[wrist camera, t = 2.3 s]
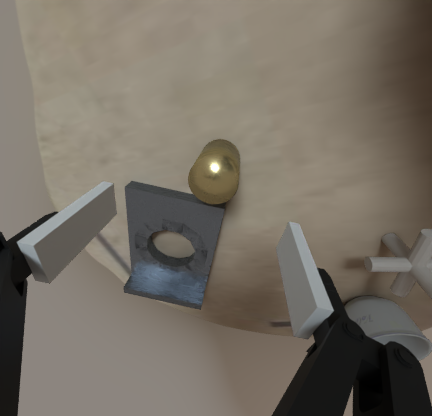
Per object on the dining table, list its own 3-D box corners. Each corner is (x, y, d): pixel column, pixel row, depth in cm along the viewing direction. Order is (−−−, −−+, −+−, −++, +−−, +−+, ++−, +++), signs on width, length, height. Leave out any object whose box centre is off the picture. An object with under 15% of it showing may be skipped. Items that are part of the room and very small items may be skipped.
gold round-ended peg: (204, 135, 24) (191, 152, 18) (244, 144, 24) (244, 164, 18) (198, 172, 27) (185, 198, 21) (235, 180, 27) (231, 208, 21)
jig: (131, 180, 29) (112, 197, 25) (226, 201, 29) (222, 222, 25) (137, 270, 40) (124, 292, 36) (205, 285, 40) (200, 309, 36)
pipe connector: (343, 261, 32) (377, 325, 24) (359, 209, 27) (411, 267, 19) (414, 263, 31) (478, 332, 22) (447, 207, 25) (546, 270, 17)
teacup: (346, 283, 35) (370, 332, 28) (413, 291, 34) (454, 344, 27) (320, 325, 42) (334, 371, 36) (374, 333, 41) (399, 382, 35)
